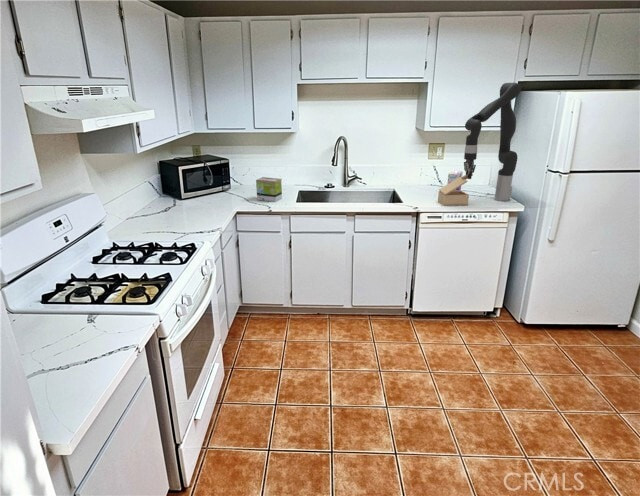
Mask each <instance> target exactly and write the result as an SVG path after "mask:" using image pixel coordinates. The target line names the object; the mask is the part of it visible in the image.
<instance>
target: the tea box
mask: <svg viewBox="0 0 640 496" xmlns="http://www.w3.org/2000/svg"><path fill="white" fill-rule="evenodd" d="M255 185H256V200H257V201H265V202H272V203H277V202H278V201H280V200H282V199H283V195H282V194H283V193H282V192H283V190H282V189H283V188H282V178H278V177H277V178H275V177H268V176H267V177H265V176H262V177H260V178H258V179H255Z"/></svg>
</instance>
